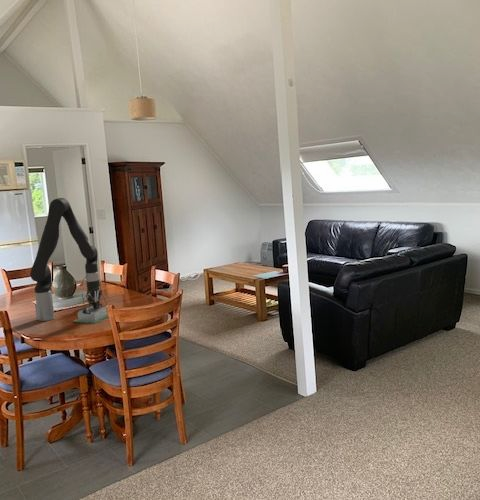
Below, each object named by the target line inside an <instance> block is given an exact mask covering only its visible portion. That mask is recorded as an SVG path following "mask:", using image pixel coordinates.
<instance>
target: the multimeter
mask: <svg viewBox="0 0 480 500" xmlns="http://www.w3.org/2000/svg"><path fill="white" fill-rule="evenodd" d="M84 280H86V276H85V277H84V278H83V280H82V283H81V285H83V283H84ZM99 281H101V279H100V278H99ZM101 283H102V282H100V287H99V290H101V289H102V288H101ZM83 295H84V294H81V296H82V298H84V296H83ZM86 295H88V288H87V287H86ZM101 296H102V298H103V299H104V301H105V303H106V304H105V305H102V307H104V306H105V307H107V305H108V304H107V301H106V300H105V299H106V298H105V297H104V295H103V294H101ZM86 299H87V298H86ZM82 301H83V303H85V300H84V299H82ZM87 302H88V307H90V306H93V302H90V301H89V300H88V299H87ZM97 302H98V304H102V303H101V298H100V299H99V300H98V301H97Z"/></svg>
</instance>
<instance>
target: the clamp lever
mask: <svg viewBox="0 0 480 500" xmlns="http://www.w3.org/2000/svg"><path fill="white" fill-rule="evenodd" d="M100 308H101V306H99V305H98V307H97V308H92V310H93V311H95V310H97V309H100ZM85 313H89V310H87V311H85Z"/></svg>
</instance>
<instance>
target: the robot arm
mask: <svg viewBox="0 0 480 500" xmlns="http://www.w3.org/2000/svg"><path fill="white" fill-rule="evenodd" d="M62 218H63V219H64V221H65V223H66V224H67V227H68V230H69V233H70V235H71V237H72V238H73V240H74V241H75V243H76V245H77V246H78V249H79V251H80V254H81V256H83V257H84V258H85V260H86V262H85V265H84V268H85V277H86V278H85V282H86V284H85V285H86V289H87V288H88V295H87V294H86V295H85V297H86V299H88V300H89V301H90V302H93V308H97V307H98V302H97V301H98V300H99V299H100V300H101V296H102V295H103V290H100V283H101V281H100V280H99V279H100V275H99V268H98V257H99V256H98V249H97V248H96V246H94V245H91V244H90V242H89V238H88V235H87V234H86V233H85V231H84V230H83V228H82V226H81V225H80V223H79V221H78V220H77V218H76V215H75V214H74V211H73V209H72V207H71V204H70V202H69V201H68V200H67V199H66V198H64V197H58V198H55V199H52V200H51V202H50V203H49V207H48V213H47V218H46V222H45V225H44V228H43V232H42V235H41V238H40V242H39V246H38V249H37V252H36V257H35V260H34V262H33V264H32V267H31V269H30V273H29V276H30V278H31V280H32V281H34V282H36V285H35V287H34V297H35V305H34V306H35V315H36V320H37V321H40V322H47V321H51V320H53V319H55V311H54V303H53V294H52V284H53V279H52V278H53V277H52V271H51V270H52V269H51V268H50V266H49V265H48V263H49V260H50V258H51V257H52V255H53V254H54V252H55V250H56V248H57V245H58V242H59V238H60V223H61V220H62ZM88 300H87V301H88Z"/></svg>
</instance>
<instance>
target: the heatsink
mask: <svg viewBox="0 0 480 500" xmlns="http://www.w3.org/2000/svg"><path fill="white" fill-rule="evenodd" d="M98 305H99V306H101V308H100V309H97V310H95V311H93V310H92V308H93V306H90V307H89V306H88V307H82V309H81V310H79V311H78V312H77V317H78V318H77V319H74V320H72V322H73V323H81V324H83V323H84V324H93V323H96V324H98V323H100V322H102V321H104V320H106V319H108V318H109V317H108V316H107V312H106V307H107V306H105V305H103V303H101V304H98ZM102 306H103V307H102ZM87 310H89V313H85V311H87ZM105 318H106V319H105ZM103 319H104V320H103ZM101 320H102V321H101Z"/></svg>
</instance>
